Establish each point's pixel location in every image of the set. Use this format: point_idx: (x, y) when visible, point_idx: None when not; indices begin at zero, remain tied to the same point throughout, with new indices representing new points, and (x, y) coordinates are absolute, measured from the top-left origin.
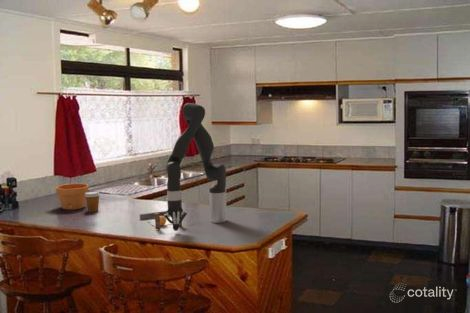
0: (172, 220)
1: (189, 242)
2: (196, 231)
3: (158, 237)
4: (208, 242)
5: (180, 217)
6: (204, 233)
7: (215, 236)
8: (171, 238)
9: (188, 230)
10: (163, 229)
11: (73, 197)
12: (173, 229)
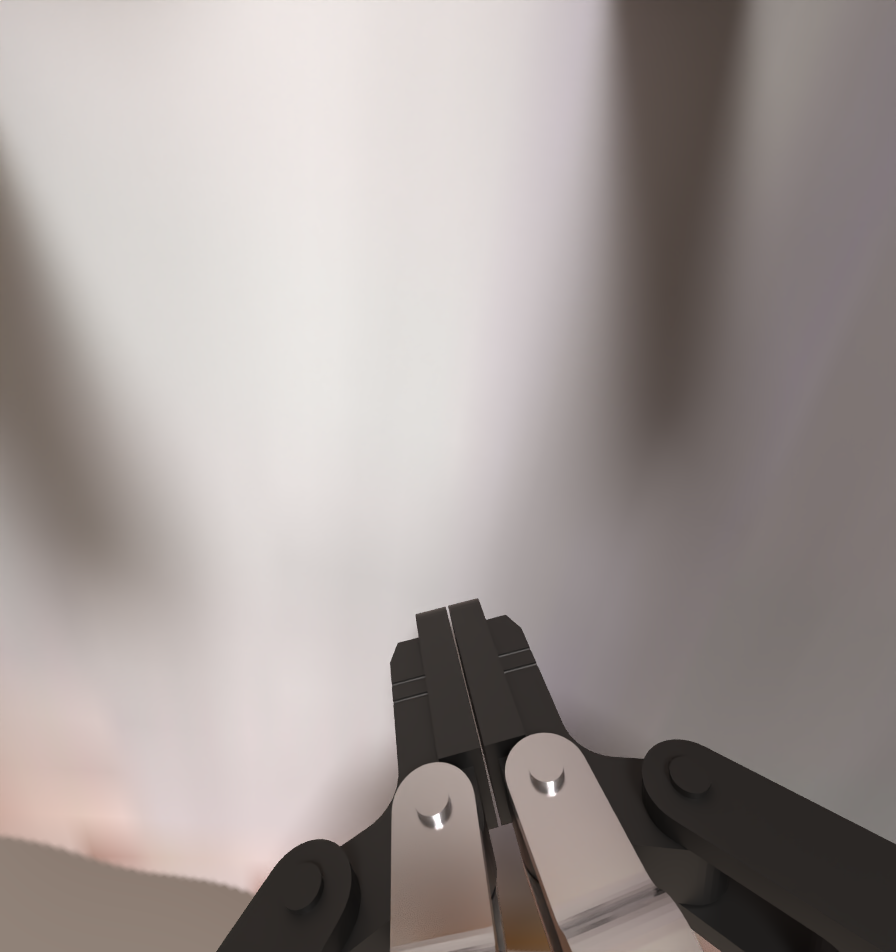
0: (408, 925)
1: (533, 947)
2: (806, 563)
3: (89, 782)
4: (699, 942)
5: (813, 922)
6: (839, 685)
7: (863, 803)
8: (335, 836)
9: (721, 458)
10: (85, 85)
11: None
12: (400, 654)
